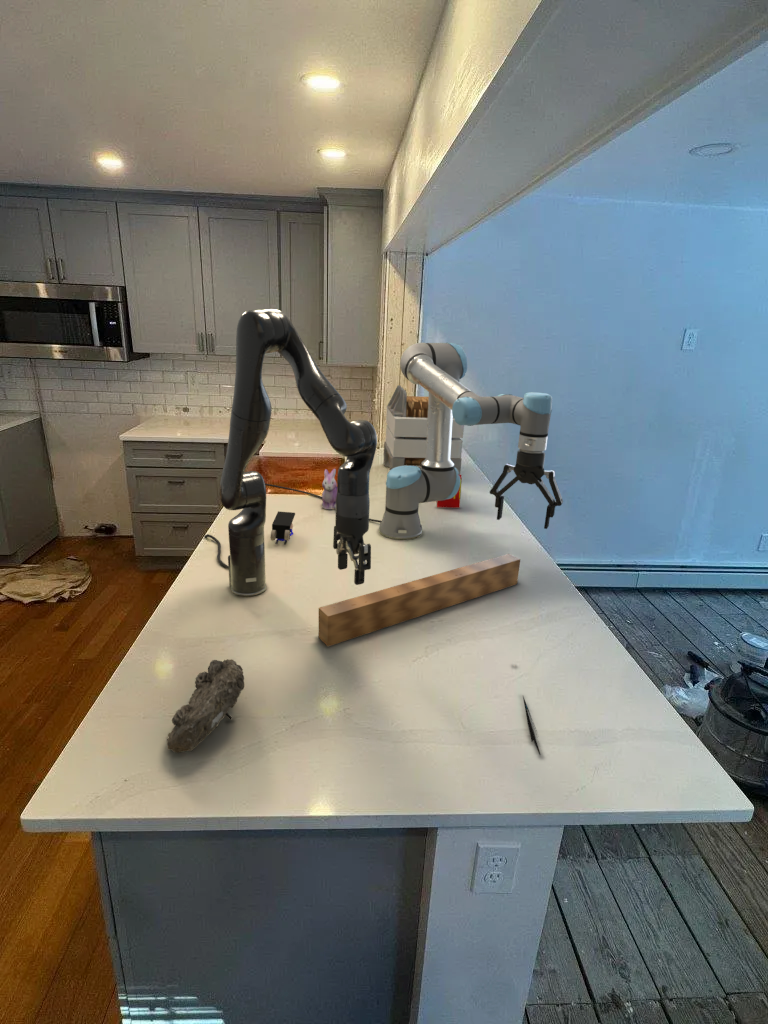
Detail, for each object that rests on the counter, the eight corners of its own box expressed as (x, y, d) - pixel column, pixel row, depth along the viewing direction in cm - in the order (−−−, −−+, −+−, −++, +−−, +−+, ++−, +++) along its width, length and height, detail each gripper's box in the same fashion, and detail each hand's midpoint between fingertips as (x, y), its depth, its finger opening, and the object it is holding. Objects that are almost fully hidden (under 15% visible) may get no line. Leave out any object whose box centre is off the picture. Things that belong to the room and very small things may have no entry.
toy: (454, 466, 253) (465, 475, 223) (452, 495, 255) (463, 509, 226) (427, 465, 252) (435, 474, 223) (425, 494, 255) (433, 508, 226)
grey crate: (382, 463, 289) (386, 382, 275) (445, 464, 293) (451, 384, 279) (390, 482, 257) (394, 392, 243) (460, 483, 261) (468, 394, 247)
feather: (514, 670, 128) (520, 664, 128) (540, 759, 101) (547, 752, 101) (508, 666, 128) (514, 660, 127) (532, 755, 101) (539, 747, 101)
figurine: (325, 511, 218) (326, 473, 213) (316, 503, 226) (316, 467, 221) (348, 508, 222) (349, 471, 217) (337, 500, 231) (338, 465, 225)
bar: (505, 577, 170) (508, 553, 168) (517, 584, 167) (520, 559, 164) (318, 637, 136) (318, 607, 133) (327, 646, 132) (328, 616, 129)
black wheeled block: (290, 551, 185) (296, 529, 198) (289, 530, 182) (295, 510, 195) (270, 550, 185) (277, 528, 198) (268, 530, 181) (276, 509, 195)
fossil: (192, 660, 117) (244, 628, 112) (224, 691, 120) (276, 661, 115) (142, 746, 98) (202, 712, 93) (182, 779, 101) (242, 748, 96)
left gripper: (323, 503, 130) (323, 567, 136) (352, 523, 119) (350, 592, 124) (352, 499, 134) (351, 561, 139) (383, 518, 122) (379, 585, 128)
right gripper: (483, 446, 158) (476, 518, 165) (576, 459, 147) (564, 535, 154) (491, 442, 164) (484, 511, 171) (580, 454, 154) (569, 527, 161)
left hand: (350, 576), depth 132 cm, fingers open, 8 cm apart
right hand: (522, 522), depth 163 cm, fingers open, 13 cm apart
